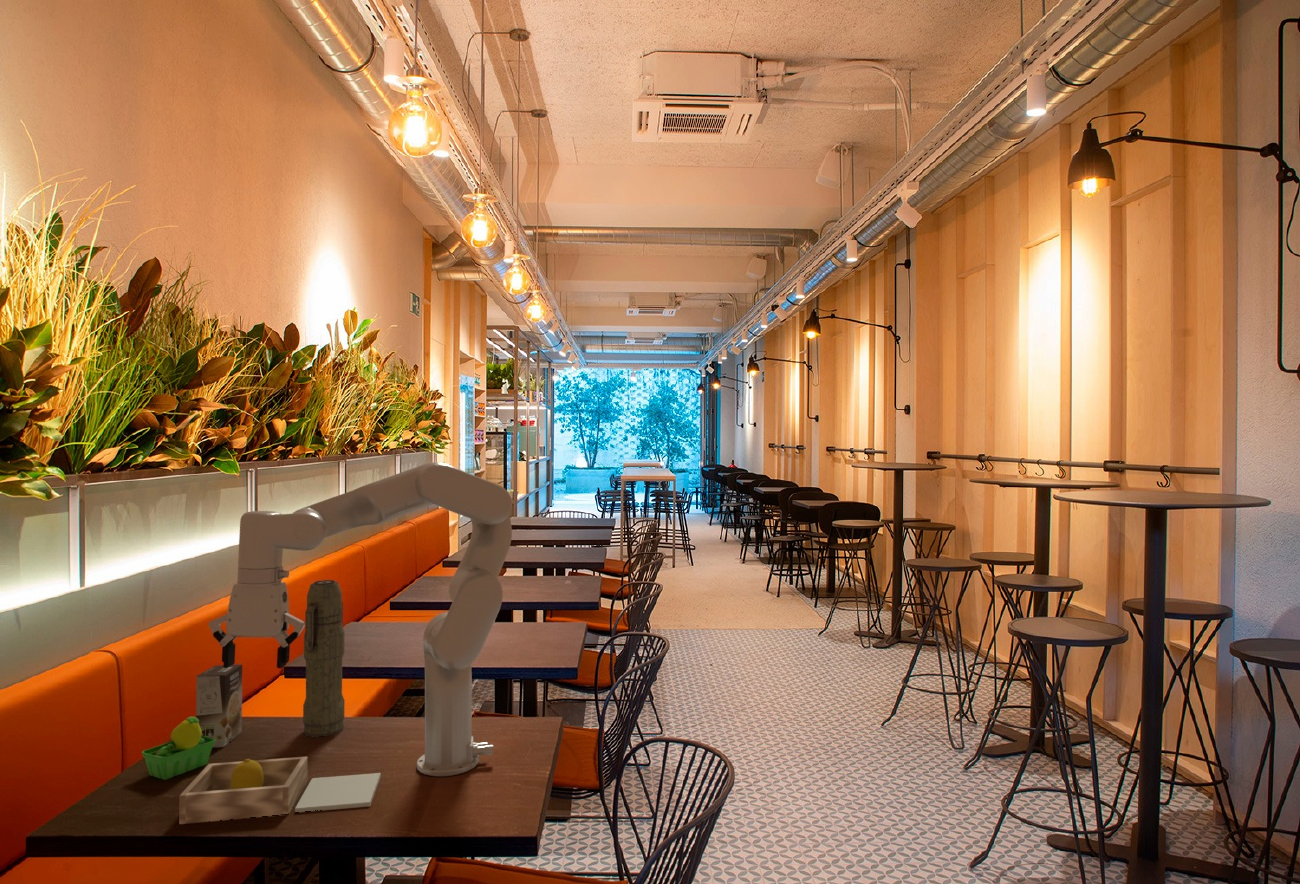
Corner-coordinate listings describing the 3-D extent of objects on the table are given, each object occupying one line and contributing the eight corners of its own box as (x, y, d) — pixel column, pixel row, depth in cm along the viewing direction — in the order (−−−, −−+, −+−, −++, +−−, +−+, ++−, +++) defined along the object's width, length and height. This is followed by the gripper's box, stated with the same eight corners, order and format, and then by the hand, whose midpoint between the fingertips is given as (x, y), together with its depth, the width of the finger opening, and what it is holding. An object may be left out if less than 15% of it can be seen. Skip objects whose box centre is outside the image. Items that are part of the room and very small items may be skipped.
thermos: (354, 721, 185) (354, 577, 186) (328, 740, 173) (329, 586, 174) (319, 720, 186) (320, 577, 186) (292, 738, 174) (292, 585, 175)
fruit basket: (194, 756, 164) (194, 704, 165) (221, 764, 161) (221, 710, 161) (139, 776, 154) (139, 721, 154) (166, 785, 150) (166, 728, 150)
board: (380, 776, 154) (380, 772, 154) (370, 806, 141) (370, 801, 141) (312, 782, 152) (312, 778, 152) (295, 812, 139) (295, 808, 139)
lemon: (249, 809, 140) (249, 766, 140) (223, 807, 141) (223, 763, 141) (270, 796, 145) (270, 754, 146) (244, 793, 147) (245, 752, 147)
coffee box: (225, 747, 169) (225, 675, 169) (194, 748, 169) (195, 676, 169) (242, 732, 178) (243, 663, 179) (213, 733, 178) (214, 664, 178)
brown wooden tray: (307, 781, 152) (307, 756, 152) (288, 814, 138) (288, 787, 138) (208, 789, 148) (208, 763, 148) (179, 824, 135) (179, 795, 135)
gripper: (313, 574, 150) (309, 661, 149) (221, 572, 148) (217, 660, 148) (299, 580, 142) (295, 672, 142) (202, 578, 141) (197, 671, 140)
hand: (255, 666), depth 145 cm, fingers open, 9 cm apart
